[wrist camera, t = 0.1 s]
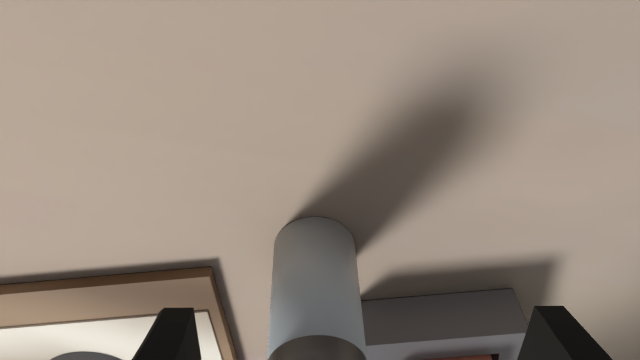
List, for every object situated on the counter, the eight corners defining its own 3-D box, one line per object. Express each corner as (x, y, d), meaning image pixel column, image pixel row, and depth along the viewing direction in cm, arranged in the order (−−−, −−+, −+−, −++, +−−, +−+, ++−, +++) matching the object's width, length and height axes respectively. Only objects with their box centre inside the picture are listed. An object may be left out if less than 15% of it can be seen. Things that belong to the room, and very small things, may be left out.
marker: (357, 273, 25) (375, 449, 19) (280, 280, 25) (271, 457, 19) (352, 213, 23) (370, 385, 17) (268, 220, 23) (254, 394, 17)
